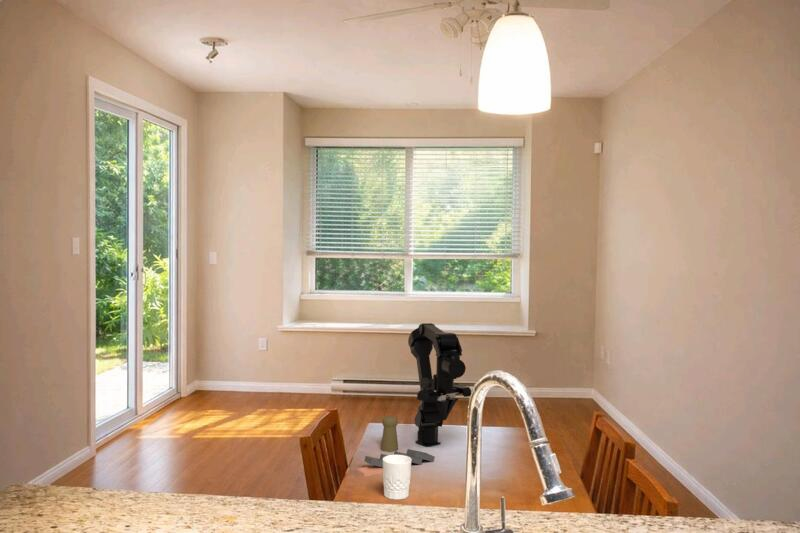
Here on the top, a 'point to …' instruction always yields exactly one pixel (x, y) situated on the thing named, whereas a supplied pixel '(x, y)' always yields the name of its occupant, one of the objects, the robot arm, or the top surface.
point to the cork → (389, 434)
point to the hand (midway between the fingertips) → (444, 419)
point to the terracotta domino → (369, 470)
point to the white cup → (396, 476)
